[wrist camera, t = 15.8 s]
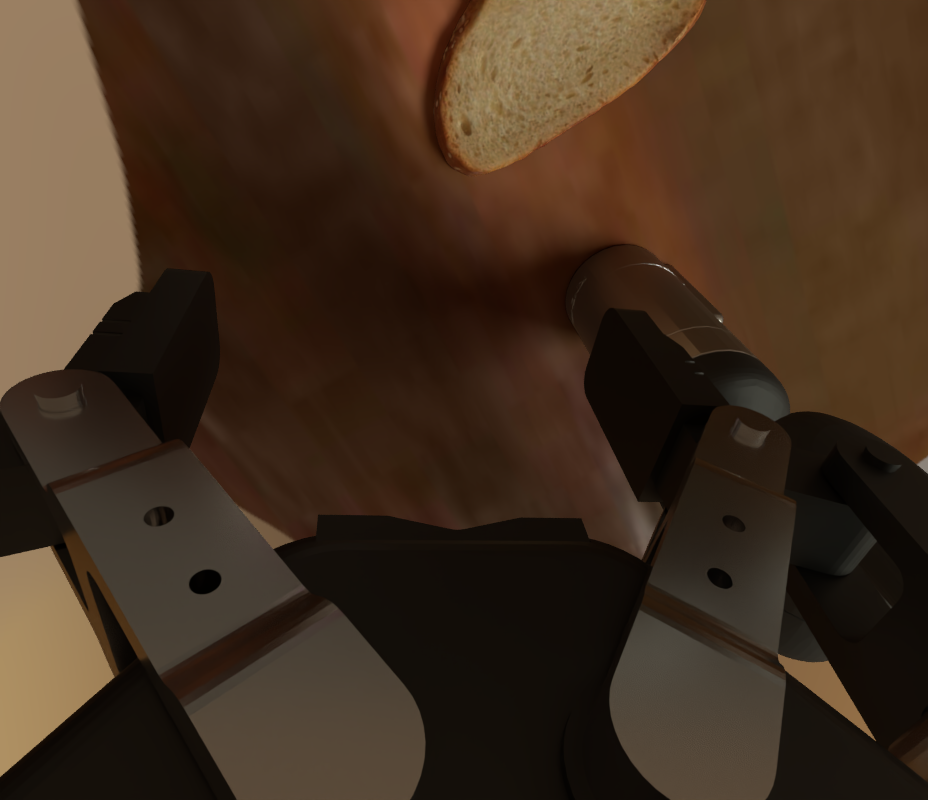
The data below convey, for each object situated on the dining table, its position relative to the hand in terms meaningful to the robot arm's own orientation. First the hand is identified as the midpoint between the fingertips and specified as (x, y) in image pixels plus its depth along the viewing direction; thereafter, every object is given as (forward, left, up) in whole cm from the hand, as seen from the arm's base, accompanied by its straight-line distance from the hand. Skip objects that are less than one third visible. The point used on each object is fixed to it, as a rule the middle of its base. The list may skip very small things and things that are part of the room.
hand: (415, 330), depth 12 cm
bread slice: (-13, -3, -36) cm, 38 cm away
